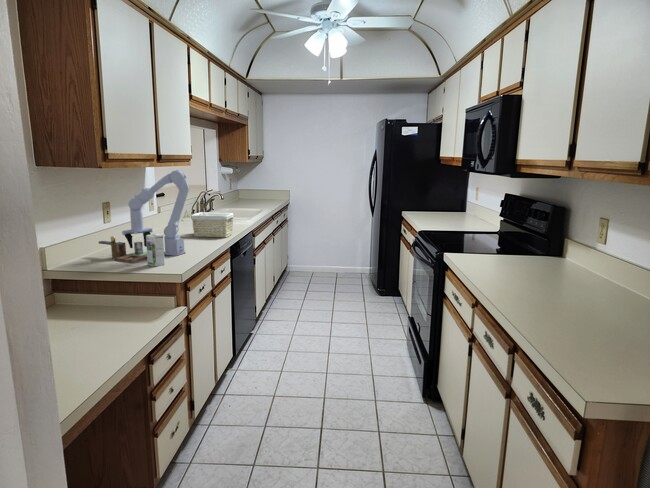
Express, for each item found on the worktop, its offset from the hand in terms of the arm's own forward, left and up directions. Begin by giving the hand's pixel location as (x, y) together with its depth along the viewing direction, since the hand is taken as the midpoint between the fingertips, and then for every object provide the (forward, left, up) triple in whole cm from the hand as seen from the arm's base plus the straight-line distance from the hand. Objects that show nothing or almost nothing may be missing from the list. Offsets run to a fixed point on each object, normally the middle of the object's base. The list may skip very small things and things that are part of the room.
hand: (138, 247), depth 218 cm
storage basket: (-2, -63, -4) cm, 63 cm away
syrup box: (-23, +13, -4) cm, 27 cm away
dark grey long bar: (+8, +10, +3) cm, 13 cm away
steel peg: (0, 0, -3) cm, 3 cm away
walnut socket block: (-3, +10, -4) cm, 11 cm away
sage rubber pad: (0, 0, -4) cm, 4 cm away
